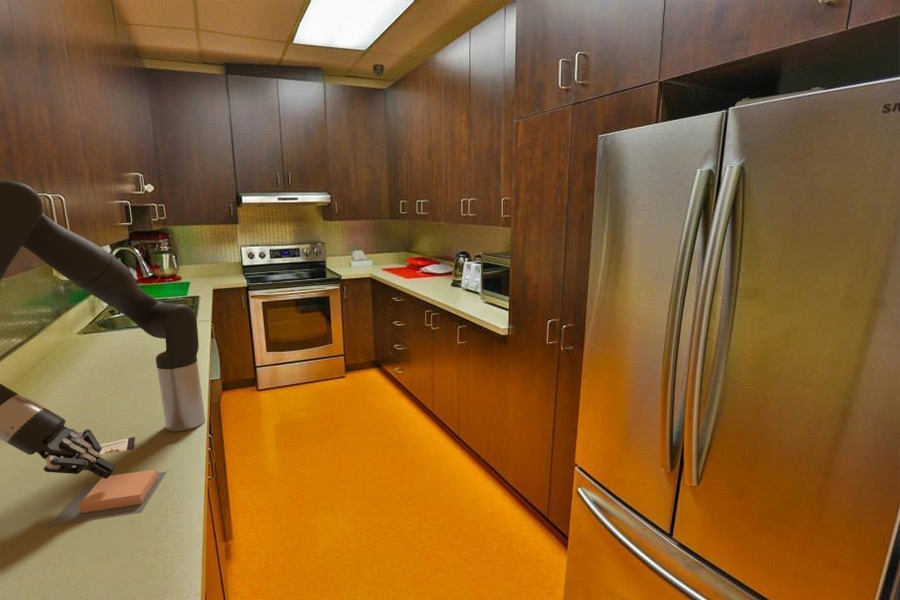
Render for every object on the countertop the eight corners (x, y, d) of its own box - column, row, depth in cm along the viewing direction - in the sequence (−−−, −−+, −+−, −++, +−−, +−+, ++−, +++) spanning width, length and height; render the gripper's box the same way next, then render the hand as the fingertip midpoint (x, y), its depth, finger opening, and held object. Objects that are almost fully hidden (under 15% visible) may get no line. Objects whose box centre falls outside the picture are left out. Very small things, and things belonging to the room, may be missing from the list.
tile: (102, 476, 93) (157, 469, 96) (104, 486, 94) (158, 478, 96) (79, 503, 85) (140, 494, 87) (81, 513, 85) (141, 504, 87)
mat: (87, 486, 95) (87, 482, 95) (167, 474, 99) (167, 471, 99) (48, 530, 82) (47, 527, 82) (141, 515, 85) (141, 512, 85)
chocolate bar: (79, 483, 96) (90, 447, 110) (80, 487, 96) (90, 450, 111) (131, 469, 100) (134, 436, 115) (132, 473, 100) (135, 440, 115)
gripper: (15, 424, 78) (109, 477, 83) (59, 395, 90) (138, 442, 96) (-16, 457, 77) (80, 508, 83) (33, 423, 90) (114, 469, 95)
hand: (111, 473), depth 89 cm, fingers closed
